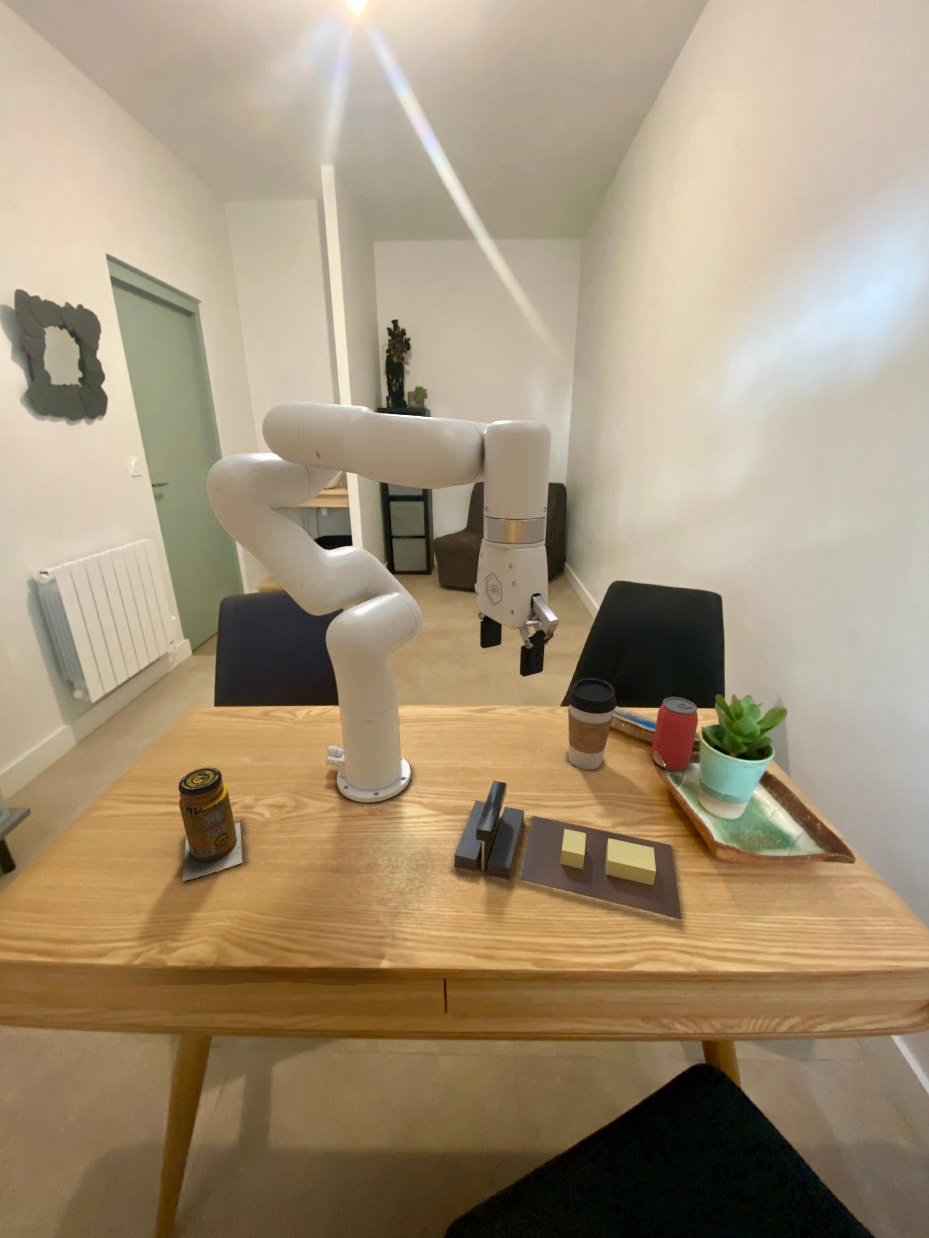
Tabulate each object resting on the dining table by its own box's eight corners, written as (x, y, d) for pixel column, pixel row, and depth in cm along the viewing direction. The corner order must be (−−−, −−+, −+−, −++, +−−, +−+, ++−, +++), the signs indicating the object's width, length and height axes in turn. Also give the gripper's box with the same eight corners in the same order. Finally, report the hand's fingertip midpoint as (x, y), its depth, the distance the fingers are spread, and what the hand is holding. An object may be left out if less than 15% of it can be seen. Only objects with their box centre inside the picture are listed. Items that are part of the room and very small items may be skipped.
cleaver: (475, 873, 66) (476, 828, 63) (492, 821, 75) (493, 780, 72) (489, 877, 65) (491, 832, 62) (504, 824, 74) (506, 782, 71)
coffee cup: (614, 755, 90) (624, 684, 85) (600, 780, 84) (609, 705, 78) (571, 741, 95) (578, 672, 89) (554, 763, 88) (561, 691, 83)
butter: (605, 874, 64) (607, 860, 63) (606, 851, 68) (608, 837, 67) (653, 885, 63) (656, 871, 62) (651, 861, 66) (653, 847, 66)
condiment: (240, 822, 74) (227, 757, 70) (242, 863, 67) (228, 793, 63) (186, 838, 71) (169, 771, 67) (182, 883, 64) (163, 811, 60)
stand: (454, 871, 66) (454, 854, 65) (475, 815, 76) (475, 800, 75) (509, 885, 64) (510, 868, 63) (523, 825, 74) (524, 810, 73)
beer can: (692, 775, 85) (704, 716, 81) (653, 770, 86) (663, 712, 82) (684, 752, 91) (695, 697, 87) (647, 748, 92) (657, 693, 88)
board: (518, 884, 64) (519, 878, 64) (532, 820, 75) (532, 815, 74) (680, 925, 59) (681, 919, 58) (670, 849, 70) (671, 844, 69)
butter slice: (560, 863, 66) (561, 849, 65) (563, 842, 70) (564, 828, 69) (582, 869, 65) (584, 855, 64) (584, 846, 69) (586, 833, 68)
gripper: (454, 523, 64) (455, 642, 70) (530, 546, 49) (523, 693, 55) (502, 519, 67) (499, 632, 73) (587, 539, 53) (574, 679, 59)
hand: (509, 659), depth 64 cm, fingers open, 9 cm apart
